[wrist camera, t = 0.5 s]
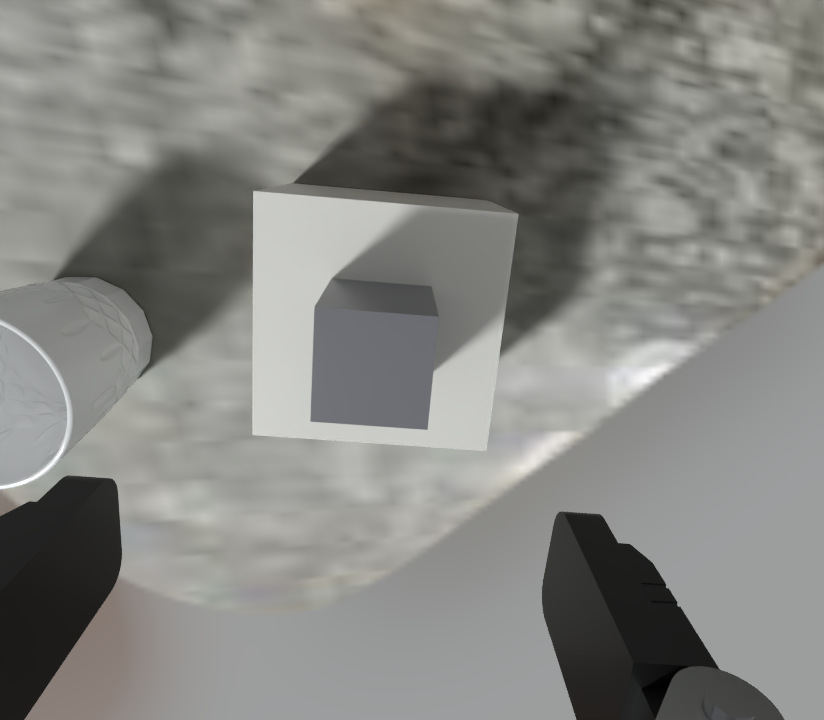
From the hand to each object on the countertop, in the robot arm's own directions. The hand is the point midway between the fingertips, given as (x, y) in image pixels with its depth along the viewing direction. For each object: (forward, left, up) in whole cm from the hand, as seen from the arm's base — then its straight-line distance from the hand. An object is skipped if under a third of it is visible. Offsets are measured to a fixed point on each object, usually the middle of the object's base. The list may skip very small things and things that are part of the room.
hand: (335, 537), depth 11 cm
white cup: (+4, -16, -23) cm, 28 cm away
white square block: (0, 0, -23) cm, 23 cm away
